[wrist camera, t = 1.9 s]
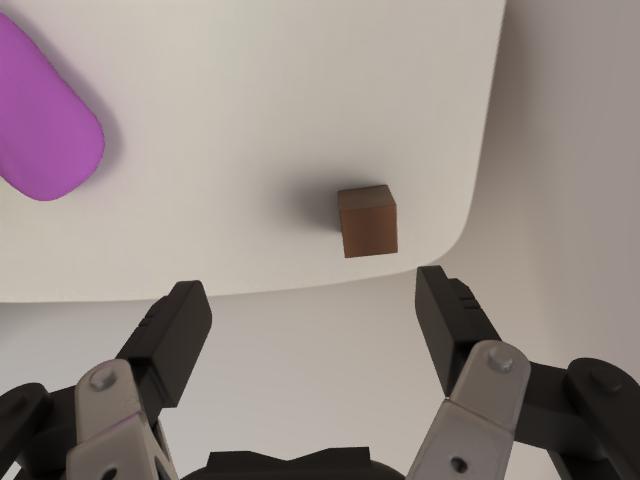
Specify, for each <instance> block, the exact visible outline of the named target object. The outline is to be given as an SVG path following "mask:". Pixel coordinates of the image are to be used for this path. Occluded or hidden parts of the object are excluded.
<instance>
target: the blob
mask: <svg viewBox="0 0 640 480" xmlns="http://www.w3.org/2000/svg"><path fill="white" fill-rule="evenodd" d="M103 151H104V134H103V131H102V128H101V125H100V123H99V121H98V120H97V118H96V117H95V115H94V114H93V113H92V112H91V110H90V109H89V108H88V107H87V106H86V105H85V104H84V103H83V101H82V100H81V99H80V98H79V97H78V96H77V95H76V94H75V92H74V91H73V90H72V89H71V88H70V87H69V86H68V85H67V84H66V82H65V81H64V80H63V79H62V78H61V77H60V76H59V74H58V73H57V72H56V70H55V69H54V68H53V66H52V65H51V63H50V62H49V61H48V60H47V58H46V57H45V56H44V55H43V53H42V52H41V51H40V50H39V48H38V47H37V46H36V45H35V44H34V43H33V41H32V40H31V39H30V38H29V37H28V36H27V35H26V34H25V33H24V32H23V31H22V30H21V29H20V28H19V27H18V26H17V25H16V24H15V23H14V22H12V21H11V20H10V19H9V18H8V17H7V16H5V15H4V14H3V13H2V12H0V176H1V177H2V178H4V179H5V180H6V181H7V182H8V183H9V184H10V185H12V186H13V187H14V188H15V189H17V190H18V191H20V192H21V193H23V194H24V195H26V196H28V197H30V198H32V199H35V200H39V201H51V200H55V199H58V198H60V197H62V196H64V195H66V194H68V193H69V192H71V191H72V190H73V189H75V188H76V187H77V186H79V185H80V184H81V183H83V182H84V181H85V180H86V179H88V178H89V177H90V175H91V174H92V173H93V172H94V171H95V170H96V168H97V166H98V164H99V162H100V160H101V158H102V155H103Z"/></svg>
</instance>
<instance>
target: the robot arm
mask: <svg viewBox="0 0 640 480" xmlns="http://www.w3.org/2000/svg"><path fill="white" fill-rule="evenodd" d="M415 309H416V315H417V318H418V321H419V324H420V327H421V330H422V332H423V335H424V338H425V341H426V343H427V346H428V349H429V352H430V355H431V358H432V361H433V363H434V366H435V369H436V372H437V375H438V378H439V380H440V383H441V386H442V389H443V392H444V394H445V397H449V399H446V398H445V399H444V401H443V402H442V404H441V406H440V408H439V410H438V412H437V414H436V416H435V418H434V420H433V422H432V424H431V427H430V429H429V431H428V433H427V435H426V437H425V439H424V441H423V443H422V445H421V447H420V449H419V452H418V454H417V456H416V458H415V460H414V462H413V464H412V466H411V468H410V470H409V472H408V474H407V476H406V477H405V476H404V475H402V474H401V473H399V472H398V471H396V470H395V469H393V468H391V467H389V466H387V465H384V464H382V463H380V462H376V461H373V460H370V452H369V447H348V448H328V449H325V450H322V451H318V452H315V453H312V454H309V455H306V456H303V457H299V458H296V459H293V460H289V461H285V460H281V459H277V458H273V457H270V456H266V455H262V454H259V453H255V452H251V451H228V452H210V456H209V459H208V462H207V466H206V467H203V468H201V469H198V470H196V471H194V472H192V473H190V474H188V475H187V476H185V477H183V478H182V479H180V480H504V476H505V472H506V468H507V465H508V461H509V457H510V453H511V450H512V445H513V441H517V442H521V443H524V444H528V445H531V446H535V447H538V448H542V449H546V450H547V452H548V454H549V456H550V458H551V460H552V462H553V463H554V466H555V468H556V470H557V471H558V474H559V475H560V477H561V479H562V480H640V386H639V385H638V383H637V382H636V381H635V380H634V379H633V378H632V377H631V376H630V375H628V374H627V373H626V372H624V371H623V370H621V369H620V368H618V367H616V366H614V365H612V364H610V363H608V362H605V361H602V360H598V359H593V358H578V359H575V360H573V361H572V362H571V363H570V364H569V366H568V369H562V368H557V367H552V366H547V365H542V364H538V363H534V362H531V361H529V360H528V359H527V357H526V356H525V355H524V354H523V353H522V352H521V351H520V350H518V349H517V348H516V347H514V346H512V345H510V344H507V343H505V342H503V341H502V340H501V338H500V337H499V335H498V333H497V332H496V330H495V328H494V327H493V325H492V324H491V322H490V320H489V319H488V317H487V316H486V314H485V312H484V311H483V309H481V306H480V305H479V303H478V301H477V300H475V297H474V295H473V293H472V292H471V290H470V289H469V287H468V286H466V285H465V284H464V283H462V282H461V281H460V280H458V279H457V278H453V279H448V278H447V276H446V274H445V273H444V271H443V269H442V267H441V266H440V265H437V266H420V267H418V268H417V277H416V292H415ZM211 325H212V313H211V309H210V306H209V303H208V300H207V297H206V294H205V291H204V288H203V285H202V283H201V282H200V281H199V280H194V281H179V282H177V283H176V284H175V286H174V287H173V289H172V290H171V292H170V293H169V295H168V296H163V297H162V298H161V299H160V300H158V301H157V302H156V303H155V304H154V305H152V306H151V308H150V309H149V311H148V312H147V314H146V315H145V318H143V319H142V321H141V322H140V323H139V327H137V328H136V329H135V330H134V332H133V333H132V335H131V336H130V338H129V339H128V341H127V342H126V343H125V345H124V346H123V347H122V349H121V350H120V352H119V353H118V354H117V356H116V357H115V359H112V360H108V361H105V362H103V363H101V364H99V365H97V366H95V367H93V368H92V369H91V370H89V371H88V372H87V373H86V374H85V375H84V376H83V377H82V378H81V379H80V380H79V382H78V383H77V385H74V386H71V387H68V388H64V389H61V390H58V391H55V392H51V393H48V391H47V390H46V389H45V388H44V386H43V385H42V384H40V383H27V384H24V385H21V386H18V387H16V388H14V389H11V390H10V391H8V392H6V393H5V394H3V395H1V396H0V480H1V479H2V478H3V476H4V475H5V473H6V472H7V471H8V469H9V468H10V467H11V465H12V464H13V462H14V461H16V462H17V463H18V464H19V465H20V466H21V467H22V468H21V469H20V471H19V472H18V474H17V475H16V477H15V478H14V479H13V480H179V478H178V476H177V473H176V471H175V468H174V464H173V461H172V458H171V455H170V451H169V448H168V445H167V441H166V438H165V435H164V432H163V428H162V425H161V422H160V420H159V418H158V416H159V414H160V412H161V410H162V408H175V407H177V405H178V403H179V400H180V398H181V396H182V394H183V391H184V389H185V387H186V384H187V382H188V379H189V377H190V375H191V373H192V370H193V368H194V365H195V363H196V361H197V359H198V356H199V354H200V352H201V349H202V347H203V345H204V342H205V340H206V338H207V335H208V333H209V331H210V328H211Z"/></svg>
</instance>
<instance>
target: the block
mask: <svg viewBox="0 0 640 480" xmlns="http://www.w3.org/2000/svg"><path fill="white" fill-rule="evenodd" d="M338 198H339V213H340V221H341V229H342V237H343V245H344V253H345V258H353V257H362V256H371V255H381V254H390V253H397V252H398V243H397V208H396V203H395V201H394V199H393V197H392V194H391V192H390V190H389V188H388V186H387V185H384V186H376V187H368V188H360V189H352V190H344V191H338Z"/></svg>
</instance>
